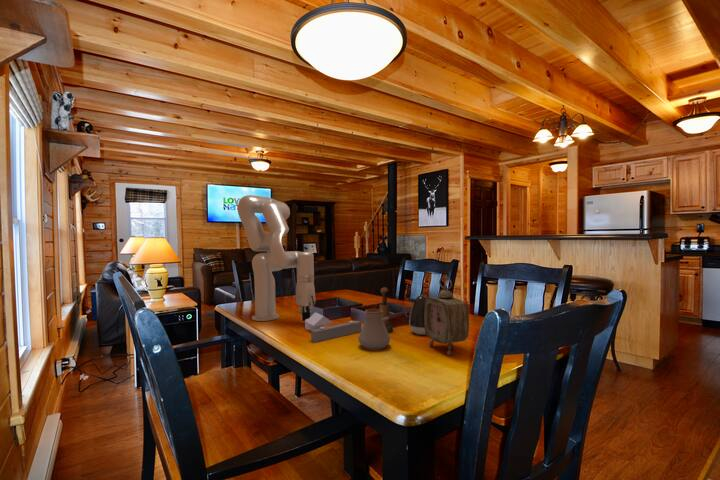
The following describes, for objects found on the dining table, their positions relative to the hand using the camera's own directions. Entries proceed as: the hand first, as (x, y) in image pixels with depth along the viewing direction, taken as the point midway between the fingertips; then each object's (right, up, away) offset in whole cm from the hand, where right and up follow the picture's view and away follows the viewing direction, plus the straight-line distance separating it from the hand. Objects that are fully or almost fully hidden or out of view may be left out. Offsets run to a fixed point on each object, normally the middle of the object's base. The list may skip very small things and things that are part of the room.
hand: (306, 320), depth 156 cm
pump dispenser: (+49, -2, -16) cm, 51 cm away
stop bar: (+15, -2, -19) cm, 24 cm away
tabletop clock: (+54, -2, -36) cm, 65 cm away
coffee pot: (+33, -2, -35) cm, 48 cm away
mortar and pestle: (+34, -2, -12) cm, 36 cm away
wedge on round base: (+6, -2, -7) cm, 10 cm away
